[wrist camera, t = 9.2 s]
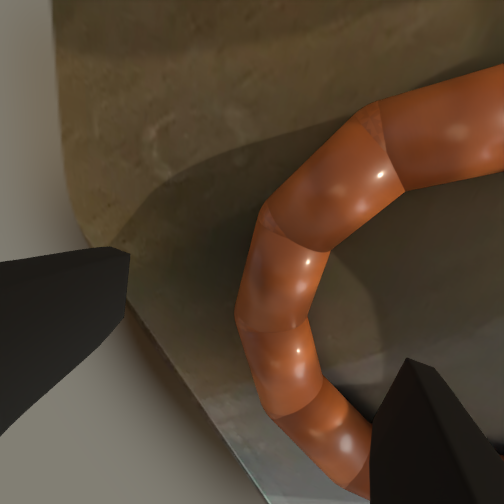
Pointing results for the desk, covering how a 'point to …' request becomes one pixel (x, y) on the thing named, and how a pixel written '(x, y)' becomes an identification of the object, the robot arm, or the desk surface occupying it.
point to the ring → (339, 228)
